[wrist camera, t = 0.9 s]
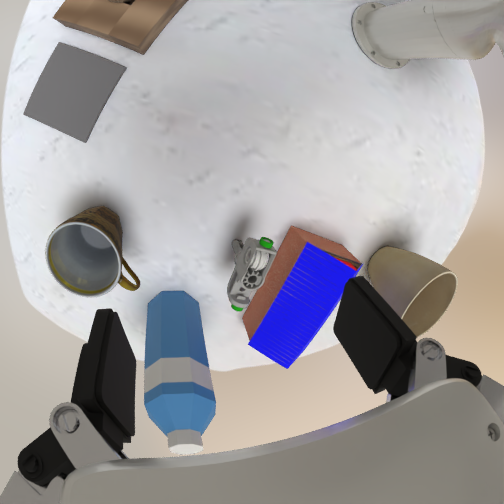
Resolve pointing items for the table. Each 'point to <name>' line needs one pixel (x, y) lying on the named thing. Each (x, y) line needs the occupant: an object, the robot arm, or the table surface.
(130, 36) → the housing
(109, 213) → the ceramic cup
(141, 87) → the table surface
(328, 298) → the house
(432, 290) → the plant pot
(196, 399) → the water bottle
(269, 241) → the mechanical component
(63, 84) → the mat
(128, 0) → the grey metal cylinder
